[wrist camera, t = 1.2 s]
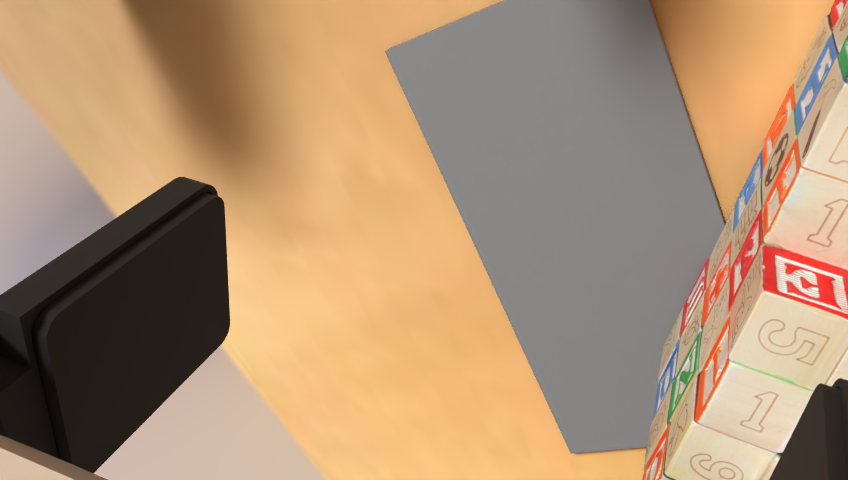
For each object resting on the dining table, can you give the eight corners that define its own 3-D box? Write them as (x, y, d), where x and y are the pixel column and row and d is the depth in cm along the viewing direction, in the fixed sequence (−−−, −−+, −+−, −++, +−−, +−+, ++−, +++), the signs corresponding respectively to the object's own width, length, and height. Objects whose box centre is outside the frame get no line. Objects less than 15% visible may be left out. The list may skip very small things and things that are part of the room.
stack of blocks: (861, -72, 30) (918, -1, 19) (1040, -26, 28) (1198, 74, 18) (660, 349, 41) (631, 530, 31) (781, 395, 40) (791, 597, 30)
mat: (631, -54, 33) (630, -52, 33) (795, 429, 41) (796, 434, 41) (388, 48, 39) (384, 51, 39) (572, 448, 48) (570, 453, 47)
